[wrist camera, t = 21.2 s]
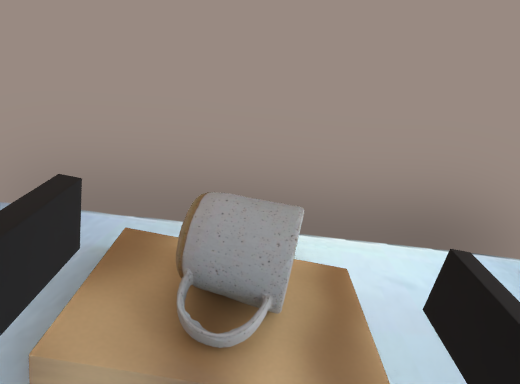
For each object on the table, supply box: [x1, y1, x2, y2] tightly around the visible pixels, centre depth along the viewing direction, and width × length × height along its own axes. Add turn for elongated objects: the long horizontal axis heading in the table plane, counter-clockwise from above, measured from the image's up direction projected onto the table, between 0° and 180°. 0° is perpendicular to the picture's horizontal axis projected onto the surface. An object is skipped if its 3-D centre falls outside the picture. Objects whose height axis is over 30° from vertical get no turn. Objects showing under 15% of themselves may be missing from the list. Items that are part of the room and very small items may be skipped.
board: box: [29, 228, 390, 384], centre depth 28 cm, size 21×15×2 cm
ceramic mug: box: [176, 192, 304, 348], centre depth 26 cm, size 11×8×8 cm
